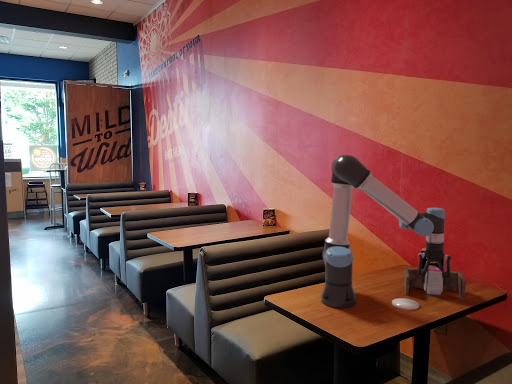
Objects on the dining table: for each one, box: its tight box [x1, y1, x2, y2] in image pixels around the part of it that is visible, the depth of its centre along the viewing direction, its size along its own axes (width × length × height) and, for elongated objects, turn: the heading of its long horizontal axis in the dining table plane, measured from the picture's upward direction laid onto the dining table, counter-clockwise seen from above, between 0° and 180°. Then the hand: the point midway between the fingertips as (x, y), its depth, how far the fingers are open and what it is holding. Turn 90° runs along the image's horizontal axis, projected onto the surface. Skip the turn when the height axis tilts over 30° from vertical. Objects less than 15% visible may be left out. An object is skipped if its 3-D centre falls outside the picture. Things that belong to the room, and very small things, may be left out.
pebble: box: [391, 298, 420, 311], centre depth 168 cm, size 11×11×1 cm
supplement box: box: [425, 267, 442, 297], centre depth 180 cm, size 6×6×12 cm
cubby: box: [403, 267, 467, 302], centre depth 181 cm, size 24×13×9 cm, turn 72°
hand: (433, 290), depth 181 cm, fingers closed on supplement box, 6 cm apart
